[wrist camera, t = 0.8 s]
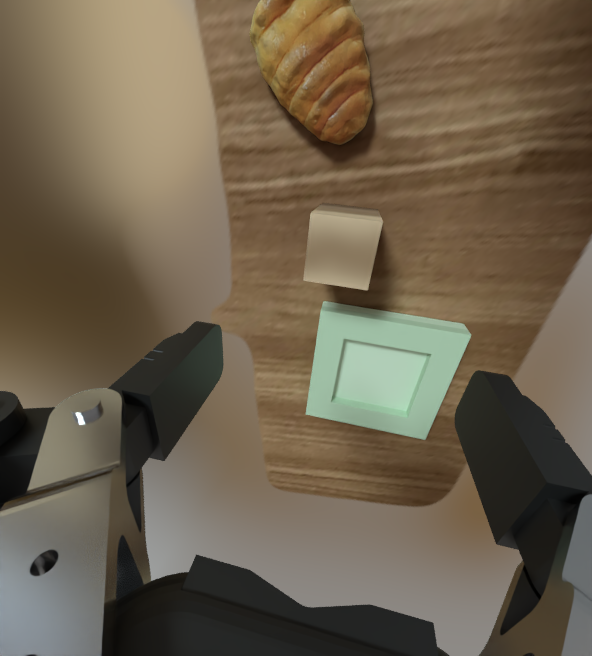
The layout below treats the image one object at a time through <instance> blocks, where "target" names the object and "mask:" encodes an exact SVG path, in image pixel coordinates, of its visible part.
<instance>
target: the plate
mask: <svg viewBox="0 0 592 656" xmlns="http://www.w3.org/2000/svg"><path fill="white" fill-rule="evenodd" d="M470 337H471V334H470V333H469V331H468V330H467V328H466V327H465V325H464V324H462V323H456V322H450V321H444V320H437V319H431V318H425V317H419V316H413V315H407V314H400V313H394V312H388V311H382V310H376V309H370V308H364V307H357V306H351V305H345V304H339V303H333V302H327V301H324V302H323V305H322V308H321V313H320V320H319V327H318V334H317V341H316V347H315V354H314V361H313V368H312V375H311V382H310V389H309V395H308V402H307V409H306V414H307V415H311V416H316V417H321V418H325V419H330V420H335V421H339V422H344V423H349V424H353V425H358V426H363V427H367V428H372V429H377V430H381V431H386V432H391V433H395V434H400V435H405V436H409V437H414V438H419V439H423V440H425V439H426V437H427V435H428V432H429V430H430V428H431V426H432V423H433V421H434V419H435V417H436V414H437V412H438V410H439V408H440V405H441V403H442V401H443V398H444V396H445V394H446V392H447V389H448V387H449V385H450V383H451V380H452V378H453V376H454V374H455V371H456V369H457V367H458V365H459V362H460V360H461V358H462V355H463V353H464V351H465V349H466V346H467V344H468V342H469V340H470Z"/></svg>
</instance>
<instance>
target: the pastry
mask: <svg viewBox="0 0 592 656" xmlns="http://www.w3.org/2000/svg"><path fill="white" fill-rule="evenodd" d="M250 40H251V43H252V45H253V47H254V49H255V52H256V55H257V61H258V65H259V68H260V72H261V74H262V76H263V78H264V80H265V81H266V82H267V83H268V84H269V85H270V87H271V89H272V91H273V92H274V93H275V95H276V97H277V99H278V101H279V103H280V104H281V105H282V106H283V107H285V108H286V109H287V110H288V112H289V113H290V114H291V115H293V116H294V117H295V118H296V119H298V120H299V122H300V123H301V124H303V125H304V126H305V127H306V128H307V129H308V130H309V131H310V132H312V133H313V134H314V135H315V136H316V137H318V138H319V139H320V140H322V141H328V142H331V143H334V144H338V145H342V144H344V143H346V142H348V141H349V140H351V139H352V138H353V137H354V136H355V135H356V134H358V133H359V132H360V131H362V129H363V128H364V127H365V125H366V123H367V120H368V117H369V113H370V110H371V108H372V104H373V100H372V93H371V88H370V65H369V61H368V57H367V54H366V51H365V47H364V25H363V23H362V22H361V20H360V19H359V18H358V17H357V15H356V14H355V11H354V8H353V6H352V4H351V2H350V0H261V1H260V2H259V3H258V5H257V7H256V10H255V12H254V15H253V19H252V26H251V30H250Z"/></svg>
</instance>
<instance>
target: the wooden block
mask: <svg viewBox="0 0 592 656" xmlns="http://www.w3.org/2000/svg"><path fill="white" fill-rule="evenodd" d="M382 224H383V221H382V218H381V216H380V214H379V211H378V209H371V208H362V207H354V206H346V205H337V204H329V203H322V204H321V205H320V206H319V207H317V208H316V209H315V210H314V211H312V212H311V215H310V224H309V233H308V243H307V252H306V261H305V270H304V280H303V281H310V282H316V283H323V284H329V285H336V286H342V287H349V288H355V289H361V290H368V287H369V282H370V278H371V273H372V269H373V264H374V260H375V255H376V251H377V246H378V242H379V238H380V233H381V229H382Z"/></svg>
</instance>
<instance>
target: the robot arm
mask: <svg viewBox="0 0 592 656" xmlns="http://www.w3.org/2000/svg"><path fill="white" fill-rule="evenodd" d="M222 370H223V347H222V331H221V327H220V326H219V325H217V324H211V323H205V322H199V321H196V322H194V323H193V324H192V325H191V326H190V327H189V328H188V329H187V330H186V331H185V332H183V333H178V334H176V335H173V336H171V337H169V338H167V339H165V340H163V341H162V342H161V343H160V344H158V345H157V346H156V347H155V348H154V349H153V351H150V352H149V353H148V354H147V355H146V356H145V357H144V359H141V360H140V361H139V362H138V363H137V364H135V365H134V366H133V367H132V368H131V369H130V370H129V371H127V372H126V373H125V374H124V375H123V376H122V377H120V378H119V379H118V380H117V381H116V382H115V383H114V384H112V385H111V386H110V387H109V388H108V389H105V388H104V389H103V388H98V389H91V390H86V391H83V392H80V393H77V394H75V395H73V396H71V397H69V398H67V399H65V400H64V401H62V402H61V403H60V404H59V405H57V407H52V408H32V409H31V408H30V409H23V407H22V405H21V403H20V401H19V399H18V397H17V396H16V395H15V394H13V393H11V392H6V391H0V656H449V655H448V654H447V653H445V652H444V651H443V650H441V649H440V648H438V647H437V644H436V637H435V631H434V625H433V623H432V622H429V621H425V620H422V619H419V618H415V617H412V616H408V615H404V614H401V613H398V612H394V611H391V610H387V609H384V608H380V607H377V606H373V605H353V606H334V607H316V608H310V607H305V606H302V605H301V604H299V603H297V602H296V601H295V600H293V599H292V598H290V597H289V596H287V595H286V594H284V593H283V592H281V591H280V590H278V589H277V588H275V587H274V586H273V585H271V584H270V583H268V582H267V581H265V580H263V579H262V578H261V577H259V576H258V575H256V574H255V573H253V572H252V571H250V570H248V569H244V568H241V567H238V566H234V565H231V564H227V563H224V562H220V561H217V560H213V559H210V558H206V557H203V556H199V555H196V557H195V559H194V561H193V564H192V566H191V568H190V571H189V572H184V573H178V574H173V575H168V576H165V577H162V578H159V579H156V580H153V581H151V573H150V565H149V558H148V554H147V547H146V537H145V515H144V513H145V512H144V488H143V471H142V466H143V465H144V464H145V462H146V461H147V460H148V458H153V459H157V460H162V461H165V459H166V458H167V456H168V455H169V453H170V452H171V450H172V449H173V447H174V446H175V445H176V443H177V442H178V440H179V439H180V437H181V436H182V434H183V433H184V431H185V430H186V428H187V427H188V425H189V424H190V422H191V421H192V419H193V418H194V416H195V415H196V414H197V412H198V411H199V409H200V408H201V406H202V404H203V403H204V402H205V400H206V399H207V397H208V396H209V394H210V393H211V391H212V390H213V388H214V387H215V385H216V384H217V382H218V381H219V379H220V377H221V374H222ZM455 428H456V431H457V434H458V437H459V440H460V442H461V445H462V448H463V451H464V454H465V457H466V459H467V462H468V465H469V468H470V471H471V474H472V476H473V479H474V482H475V485H476V488H477V491H478V493H479V496H480V499H481V502H482V505H483V508H484V511H485V514H486V516H487V519H488V522H489V525H490V528H491V531H492V533H493V536H494V539H495V542H496V544H497V545H502V546H506V547H510V548H514V549H518V550H519V551H520V554H521V556H522V559H523V561H522V562H521V563H520V564H519V565H518V566H517V568H516V571H515V573H514V576H513V578H512V581H511V584H510V586H509V589H508V591H507V594H506V596H505V599H504V602H503V605H502V607H501V609H500V612H499V615H498V617H497V620H496V623H495V625H494V628H493V630H492V633H491V636H490V638H489V640H488V642H487V644H486V646H485V647H484V649H483V650H482V652H481V653H480V654H479V656H592V475H591V474H590V473H589V471H588V470H587V469H586V467H585V466H584V465H583V464H582V462H581V461H580V459H579V458H578V456H577V455H576V454H575V452H574V451H573V450H572V448H571V447H570V446H569V445H568V444H567V443H565V439H564V438H563V436H562V435H561V434H560V432H559V431H558V430H556V429H555V425H554V424H553V423H552V421H551V420H550V419H549V417H548V416H547V414H546V413H545V412H544V411H543V410H542V409H541V408H540V407H539V406H537V405H536V404H535V403H534V402H533V401H531V400H530V399H529V398H528V397H526V396H523V395H522V394H521V393H520V391H519V390H518V388H517V387H516V385H515V384H514V382H513V381H512V380H511V378H510V377H509V376H507V375H503V374H497V373H491V372H486V371H479V370H478V371H476V372H475V373H474V374H473V375H472V377H471V379H470V381H469V383H468V386H467V388H466V390H465V392H464V394H463V396H462V398H461V400H460V402H459V405H458V407H457V409H456V413H455Z"/></svg>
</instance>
